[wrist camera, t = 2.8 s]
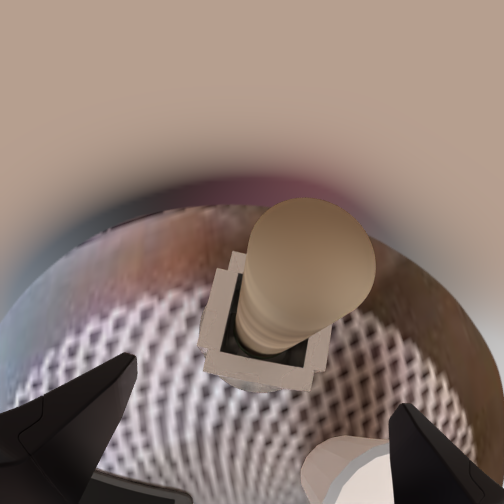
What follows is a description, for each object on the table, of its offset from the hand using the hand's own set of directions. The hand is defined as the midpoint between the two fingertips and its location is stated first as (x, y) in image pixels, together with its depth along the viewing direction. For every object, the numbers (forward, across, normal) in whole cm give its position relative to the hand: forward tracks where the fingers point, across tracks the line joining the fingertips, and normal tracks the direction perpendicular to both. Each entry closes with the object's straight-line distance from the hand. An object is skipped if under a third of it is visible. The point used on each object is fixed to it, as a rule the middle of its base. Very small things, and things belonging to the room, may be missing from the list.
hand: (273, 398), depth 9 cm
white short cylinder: (+4, -8, +12) cm, 14 cm away
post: (+9, 0, +4) cm, 10 cm away
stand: (+10, 0, +5) cm, 12 cm away
